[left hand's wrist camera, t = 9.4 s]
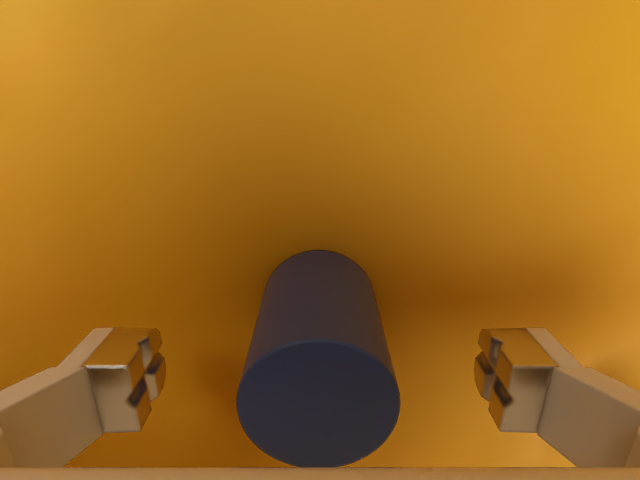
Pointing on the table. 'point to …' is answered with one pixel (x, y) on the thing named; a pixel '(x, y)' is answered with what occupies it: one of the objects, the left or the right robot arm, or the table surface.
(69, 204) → the table surface
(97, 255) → the table surface
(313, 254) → the canister
